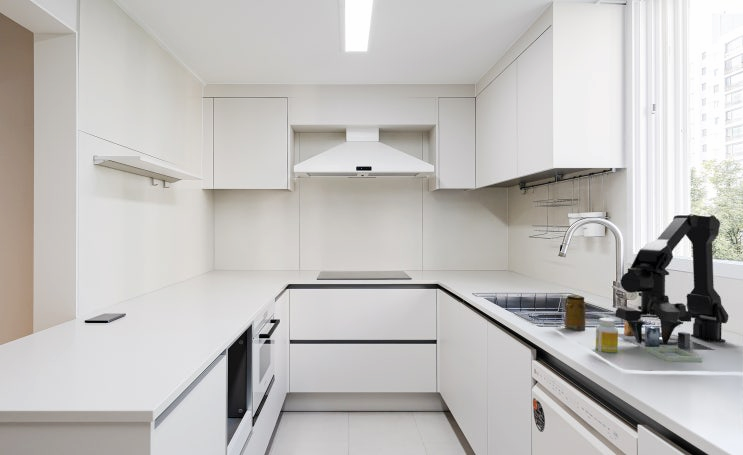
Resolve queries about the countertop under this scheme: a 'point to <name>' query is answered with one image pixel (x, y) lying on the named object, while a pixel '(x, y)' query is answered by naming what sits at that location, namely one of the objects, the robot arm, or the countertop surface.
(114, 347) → the countertop surface
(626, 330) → the crank
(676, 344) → the crank base
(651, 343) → the blue gray block
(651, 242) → the robot arm
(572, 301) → the condiment
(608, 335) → the supplement bottle
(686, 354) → the tray
